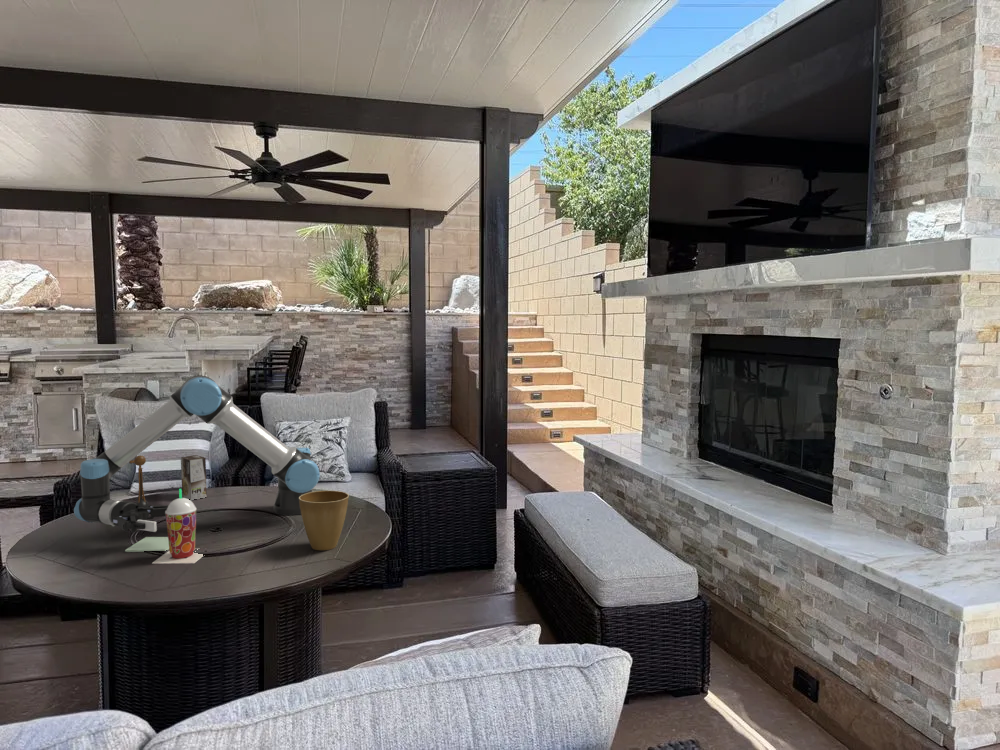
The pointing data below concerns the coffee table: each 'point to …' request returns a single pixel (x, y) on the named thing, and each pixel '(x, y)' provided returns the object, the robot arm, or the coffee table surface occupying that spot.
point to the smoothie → (181, 527)
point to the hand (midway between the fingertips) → (174, 520)
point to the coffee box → (193, 477)
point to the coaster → (150, 545)
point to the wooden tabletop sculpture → (140, 481)
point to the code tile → (177, 559)
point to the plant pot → (323, 517)
